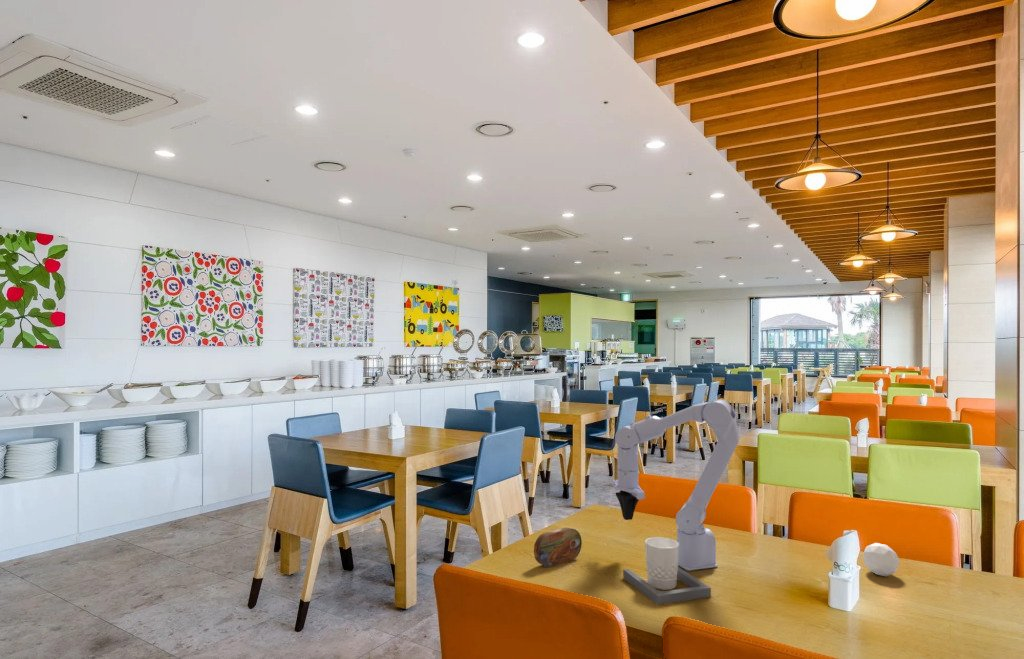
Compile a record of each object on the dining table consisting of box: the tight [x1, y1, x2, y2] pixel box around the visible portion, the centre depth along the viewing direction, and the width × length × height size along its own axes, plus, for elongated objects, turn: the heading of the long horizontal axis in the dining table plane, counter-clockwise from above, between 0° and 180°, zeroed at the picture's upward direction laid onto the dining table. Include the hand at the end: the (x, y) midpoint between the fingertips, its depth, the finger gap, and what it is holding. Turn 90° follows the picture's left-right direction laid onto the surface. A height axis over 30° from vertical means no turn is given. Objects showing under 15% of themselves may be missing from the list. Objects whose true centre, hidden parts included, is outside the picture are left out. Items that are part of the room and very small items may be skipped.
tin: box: [533, 527, 583, 568], centre depth 152 cm, size 15×3×8 cm, turn 126°
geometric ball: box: [862, 542, 900, 577], centre depth 145 cm, size 8×8×8 cm
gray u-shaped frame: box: [622, 566, 712, 606], centre depth 137 cm, size 14×16×2 cm
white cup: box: [644, 536, 679, 591], centre depth 139 cm, size 8×8×10 cm
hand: (627, 519), depth 159 cm, fingers closed
